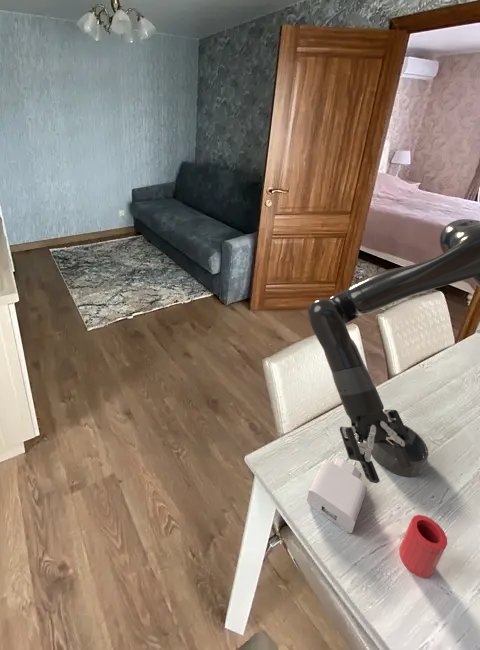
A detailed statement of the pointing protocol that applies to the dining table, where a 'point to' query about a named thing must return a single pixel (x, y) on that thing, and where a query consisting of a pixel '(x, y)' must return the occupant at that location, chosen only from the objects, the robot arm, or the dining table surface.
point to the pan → (414, 450)
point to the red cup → (422, 546)
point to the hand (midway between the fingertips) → (390, 474)
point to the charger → (338, 492)
